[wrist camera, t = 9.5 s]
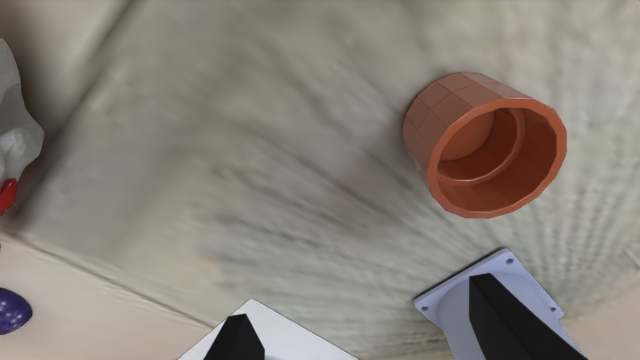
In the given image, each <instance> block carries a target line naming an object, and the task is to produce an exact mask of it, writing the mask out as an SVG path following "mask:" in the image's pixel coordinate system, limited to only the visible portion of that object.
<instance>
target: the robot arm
mask: <svg viewBox="0 0 640 360" xmlns="http://www.w3.org/2000/svg"><path fill="white" fill-rule="evenodd" d="M413 304H414V307H415V308H416V309H417V310H418V311H419V312H421V313H422V314H423V315H424V316H425V317H427V318H428V319H429V320H430V321H431V322H433V323H434V324H435V325H436V326H438V327H439V328H440V329H441V330H442V331H444V334H445V336H446V339H447V341H448V344H449V347H450V349H451V352H452V355H453V357H454V360H588V359H587V358H586V357H585V355H584V354H583V353H582V351H581V350H580V349H579V347H578V346H577V345H576V343H575V342H574V341H573V339H572V338H571V337H570V335H569V334H568V333H567V331H566V330H565V329H564V327H563V326H562V325H561V323H560V322H559V321H558V319H560V318H562V317H563V315H564V312H563V311H562V310H561V308H560V307H559V306H558V305H557V304H556V303H555V302H554V300H553V299H552V298H551V297H550V296H549V295H548V293H547V292H546V291H545V290H544V289H543V288H542V286H541V285H540V284H539V283H538V282H537V281H536V279H535V278H534V277H533V276H532V275H531V274H530V273H529V271H528V270H527V269H526V268H525V267H524V266H523V264H522V263H521V262H520V261H519V260H518V259H517V257H516V256H515V255H514V254H513V253H512V252H511V250H509V249H501V250H499V251H497V252H496V253H494V254H492V255H490V256H489V257H487V258H485V259H484V260H482V261H480V262H478V263H477V264H475V265H473V266H471V267H470V268H468V269H466V270H464V271H463V272H461V273H459V274H458V275H456V276H454V277H452V278H451V279H449V280H447V281H445V282H444V283H442V284H440V285H439V286H437V287H435V288H433V289H432V290H430V291H428V292H426V293H425V294H423V295H421V296H419V297H418V298H416V299H415V300H414V301H413ZM203 360H265V349H264V347H263V345H262V343H261V341H260V339H259V337H258V335H257V333H256V331H255V330H254V328H253V326H252V324H251V322H250V320H249V318H248V316H247V314H246V313H244V314H238V315H232V316H228V318H227V319H226V321H225V322H224V324H223V326H222V328H221V329H220V331H219V333H218V335H217V336H216V338H215V340H214V342H213V343H212V345H211V347H210V349H209V350H208V352H207V354H206V355H205V357H204V359H203Z"/></svg>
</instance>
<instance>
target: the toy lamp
mask: <svg viewBox="0 0 640 360" xmlns="http://www.w3.org/2000/svg"><path fill="white" fill-rule="evenodd" d="M31 316H32V311H31V308H30V306H29V305H28V304H27V303H26V301H24V300H23V299H22V298H20V297H19V296H17V295H16V294H13V293H12V292H9V291H7V290H4V289H0V335H4V334H7V333H10V332H12V331H14V330H16V329H18V328H20V327H21V326H23V325H24V324H25V323H26V322H27V321H28V320H29V319H30V318H31Z"/></svg>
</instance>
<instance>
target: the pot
mask: <svg viewBox="0 0 640 360" xmlns="http://www.w3.org/2000/svg"><path fill="white" fill-rule="evenodd" d="M402 135H403V141H404V144H405V148H406V152H407V153H408V155H409V157H410V159H411V160H412V162H413V164H414V166H415V167H416V169H417V171H418V173H419V175H420V176H421V178H422V180H423V181H424V183H425V185H426V187H427V188H428V190H429V192H430V193H431V195H432V197H433V198H434V199H435V200H436V201H437V202H438V203H439V204H440V205H441V206H442V207H443V208H444V210H446V211H448V212H451V213H454V214H456V215H459V216H461V217H464V218H487V219H489V218H493V217H496V216H500V215H503V214H507V213H510V212H513V211H516V210H517V209H519V208H521V207H522V206H524V205H525V204H527V203H529V202H530V201H532V200H534V199H535V198H537V197H538V196H539V195H540V194H541V193H542V192H543V191H544V190H545V188H546V187H547V186H548V185H549V184H550V183H551V182H552V181H553V180H554V179H555V177H556V176H557V174H558V172H559V169H560V167H561V165H562V163H563V160H564V158H565V156H566V153H567V131H566V128H565V126H564V124H563V123H562V121H561V119H560V118H559V116H558V114H557V113H556V111H555V110H554V109H553V108H551V107H549V106H547V105H545V104H543V103H541V102H539V101H537V100H535V99H533V98H531V97H529V96H527V95H525V94H523V93H521V92H519V91H517V90H515V89H512V88H510V87H508V86H506V85H504V84H502V83H500V82H498V81H496V80H494V79H491V78H489V77H487V76H485V75H483V74H479V73H455V74H452V75H450V76H447V77H444V78H442V79H439V80H436V82H433V83H432V84H431V85H430V86H428V87H427V88H426V89H425V90H424V91H422V92H421V93H420V94H419V95H418V96H417V97H416V99H415V100H414V102H413V104H412V105H411V107H410V109H409V110H408V112H407V114H406V116H405V120H404V126H403V132H402Z"/></svg>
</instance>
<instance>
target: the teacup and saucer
mask: <svg viewBox="0 0 640 360" xmlns="http://www.w3.org/2000/svg"><path fill="white" fill-rule="evenodd" d="M244 313H246V314H247V316H248V318H249V320H250V322H251V324H252V326H253V328H254V330H255V331H256V333H257V335H258V337H259V339H260V341H261V343H262V345H263V347H264V349H265V360H359V359H357V358H355V357H353V356H352V355H350V354H348V353H346V352H345V351H343V350H341V349H339V348H338V347H336V346H334V345H332V344H331V343H329V342H327V341H325V340H324V339H322V338H320V337H318V336H317V335H315V334H313V333H311V332H310V331H308V330H306V329H304V328H303V327H301V326H299V325H297V324H296V323H294V322H292V321H290V320H289V319H287V318H285V317H284V316H282V315H280V314H278V313H277V312H275V311H273V310H271V309H270V308H268V307H266V306H264V305H263V304H261V303H259V302H257V301H256V300H254V299H252V298H251V299H250V300H249V301H247V302H246V303H245V304H244V305H243V306H241V307H240V308H239V309H238V310H237V311H235V312H234V313H233V314H232V315H238V314H244ZM232 315H231V316H232ZM225 321H226V320H225ZM225 321H223V322H222V323H221V324H220V325H219V326H217V327H216V328H215V329H214V330H213V331H211V332H210V333H209V334H208V335H206V336H205V337H204V338H203V339H202V340H200V341H199V342H198V343H197V344H196V345H194V346H193V347H192V348H191V349H190V350H188V351H187V352H186V353H185V354H184V355H182V356H181V357H180V358H179V359H178V360H203V359H204V357H205V355H206V354H207V352H208V350H209V349H210V347H211V345H212V343H213V342H214V340H215V338H216V336H217V335H218V333H219V331H220V329H221V328H222V326H223V324H224V322H225Z"/></svg>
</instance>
